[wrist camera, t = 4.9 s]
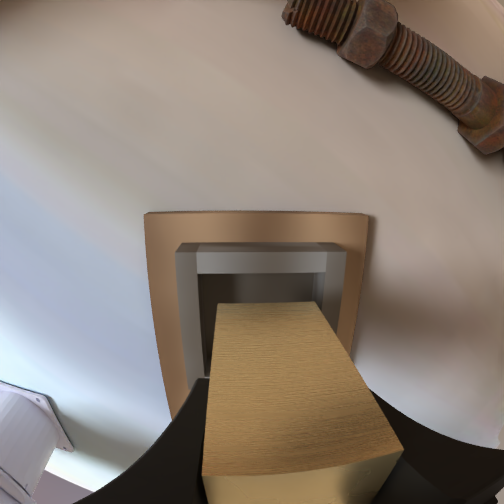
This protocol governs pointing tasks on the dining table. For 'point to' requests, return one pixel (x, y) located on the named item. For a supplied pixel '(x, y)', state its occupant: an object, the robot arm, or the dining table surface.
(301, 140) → the dining table surface
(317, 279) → the socket board
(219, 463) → the wooden bar
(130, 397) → the dining table surface
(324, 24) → the bolt
